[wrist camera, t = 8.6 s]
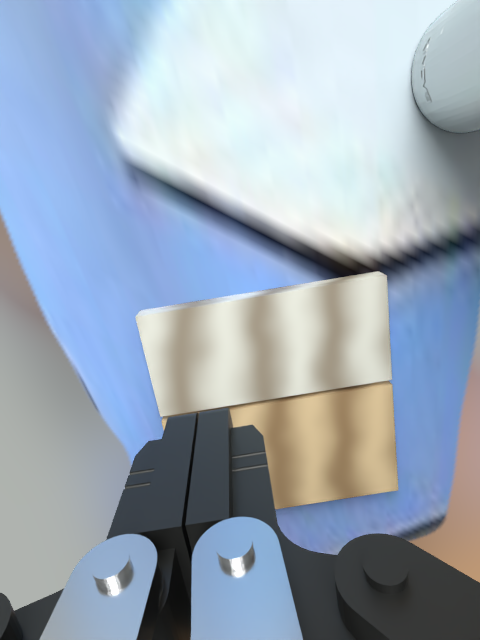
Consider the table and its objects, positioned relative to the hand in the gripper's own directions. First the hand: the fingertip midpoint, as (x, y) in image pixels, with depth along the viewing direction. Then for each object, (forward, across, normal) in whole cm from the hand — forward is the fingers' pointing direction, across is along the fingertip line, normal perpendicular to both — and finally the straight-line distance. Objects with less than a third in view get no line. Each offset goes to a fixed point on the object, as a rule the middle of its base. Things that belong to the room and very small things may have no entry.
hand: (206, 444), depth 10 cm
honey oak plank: (+27, -3, +20) cm, 33 cm away
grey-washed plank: (+27, -3, +8) cm, 28 cm away
